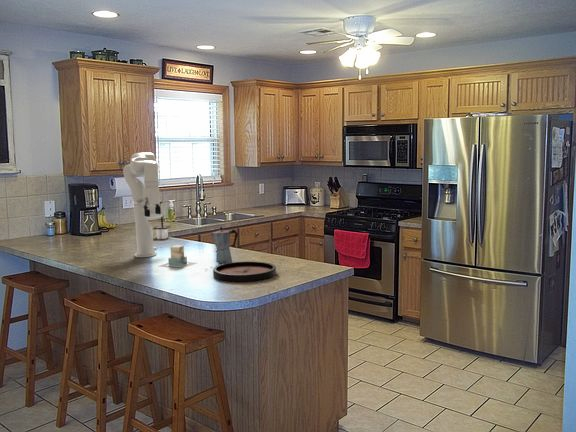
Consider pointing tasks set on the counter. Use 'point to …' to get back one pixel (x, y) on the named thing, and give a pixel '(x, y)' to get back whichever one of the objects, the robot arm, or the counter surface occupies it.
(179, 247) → the maple block
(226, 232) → the moka pot
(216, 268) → the round serving tray
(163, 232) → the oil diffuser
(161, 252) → the counter surface
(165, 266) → the build board
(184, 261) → the teal base block
